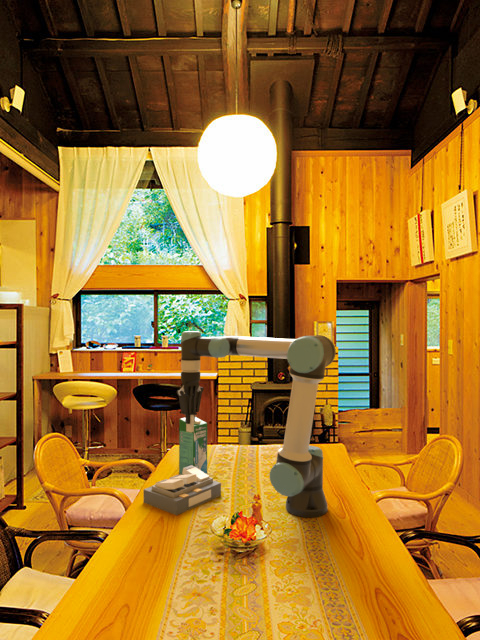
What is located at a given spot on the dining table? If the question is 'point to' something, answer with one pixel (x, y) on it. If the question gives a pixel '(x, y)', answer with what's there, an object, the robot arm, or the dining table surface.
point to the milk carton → (193, 445)
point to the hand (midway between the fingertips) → (190, 431)
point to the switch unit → (182, 496)
